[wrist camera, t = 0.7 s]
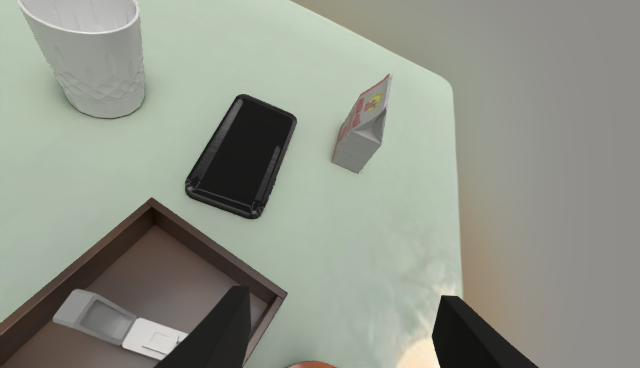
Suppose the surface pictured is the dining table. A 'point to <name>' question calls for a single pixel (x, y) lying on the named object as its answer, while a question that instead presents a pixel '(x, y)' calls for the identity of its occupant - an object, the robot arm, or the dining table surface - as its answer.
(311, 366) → the coaster
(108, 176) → the dining table surface
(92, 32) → the white cup
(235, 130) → the phone
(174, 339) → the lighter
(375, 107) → the milk carton
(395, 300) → the dining table surface
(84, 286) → the tray
